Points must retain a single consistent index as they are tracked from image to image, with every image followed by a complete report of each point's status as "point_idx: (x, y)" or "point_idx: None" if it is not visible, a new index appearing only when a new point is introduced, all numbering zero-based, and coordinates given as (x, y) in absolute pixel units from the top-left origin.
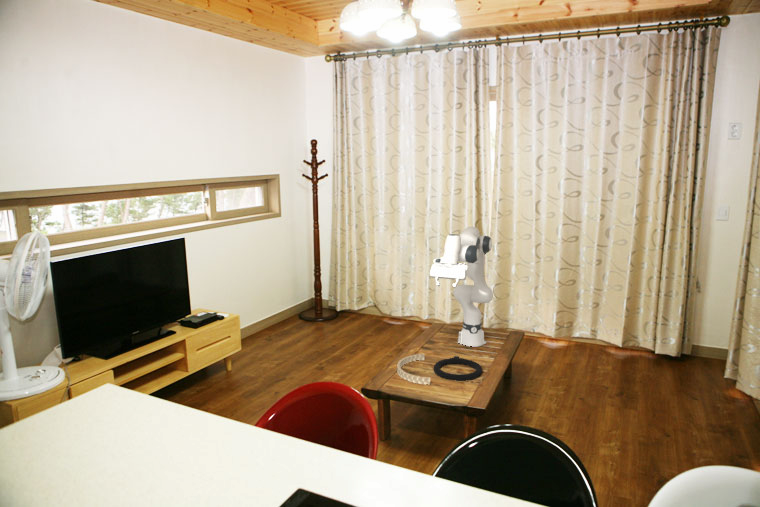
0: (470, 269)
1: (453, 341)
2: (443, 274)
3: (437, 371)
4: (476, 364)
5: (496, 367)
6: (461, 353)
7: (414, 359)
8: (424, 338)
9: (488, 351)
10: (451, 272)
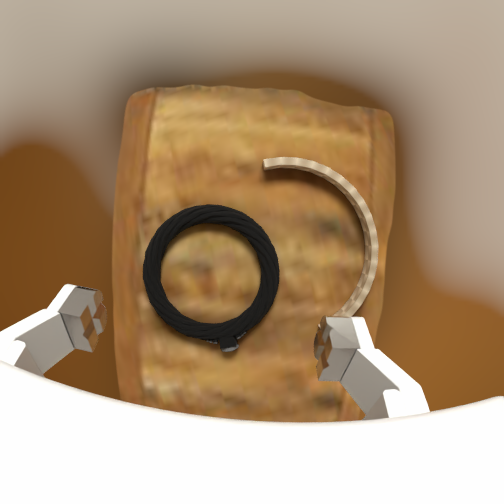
0: None
1: None
2: (273, 479)
3: (258, 228)
4: (162, 307)
5: (123, 329)
6: (229, 397)
7: (343, 308)
8: None
9: None
10: (38, 495)
